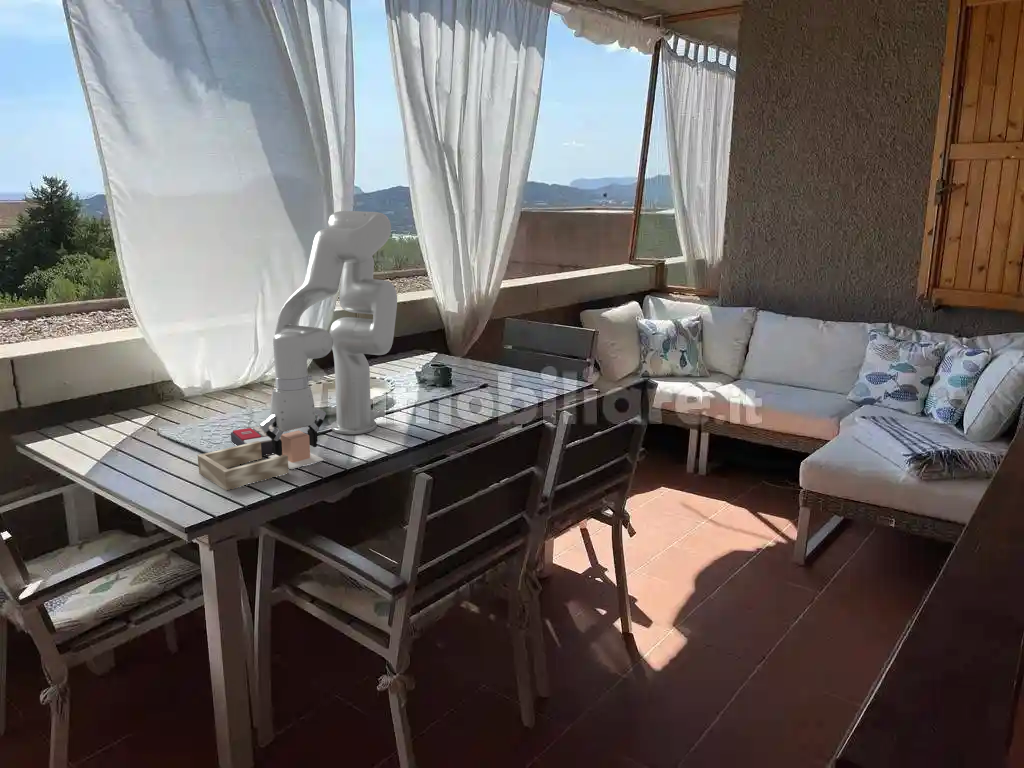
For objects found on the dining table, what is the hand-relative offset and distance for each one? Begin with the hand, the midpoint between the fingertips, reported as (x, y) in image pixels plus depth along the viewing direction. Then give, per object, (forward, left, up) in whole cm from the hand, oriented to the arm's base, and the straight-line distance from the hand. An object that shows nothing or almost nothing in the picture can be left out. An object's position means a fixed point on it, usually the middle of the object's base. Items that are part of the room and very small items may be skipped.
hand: (295, 449), depth 182 cm
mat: (0, 0, -3) cm, 3 cm away
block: (0, 0, -2) cm, 2 cm away
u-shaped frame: (+13, 0, -3) cm, 13 cm away
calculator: (+2, -15, -3) cm, 16 cm away
